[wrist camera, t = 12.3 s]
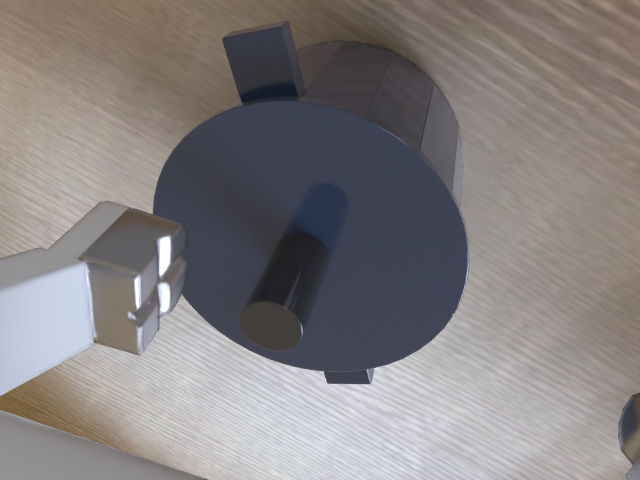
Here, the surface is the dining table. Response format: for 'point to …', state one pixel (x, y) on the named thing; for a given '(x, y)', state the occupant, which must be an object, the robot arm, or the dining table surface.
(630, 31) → the dining table surface
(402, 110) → the pot
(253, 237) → the pot lid
